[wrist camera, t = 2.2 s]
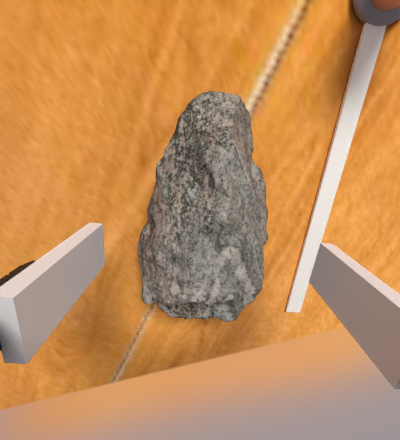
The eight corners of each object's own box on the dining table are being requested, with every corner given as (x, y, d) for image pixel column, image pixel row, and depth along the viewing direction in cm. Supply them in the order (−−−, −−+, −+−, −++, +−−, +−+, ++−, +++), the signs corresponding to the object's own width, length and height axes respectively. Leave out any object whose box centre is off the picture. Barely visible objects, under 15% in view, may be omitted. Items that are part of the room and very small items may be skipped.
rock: (289, 300, 21) (235, 397, 14) (209, 276, 27) (144, 334, 20) (276, 83, 15) (173, 62, 8) (178, 115, 21) (71, 119, 14)
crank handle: (272, 309, 24) (307, 384, 17) (364, -59, 14) (550, -281, 7) (311, 311, 24) (363, 387, 17) (427, -49, 15) (675, -254, 7)
